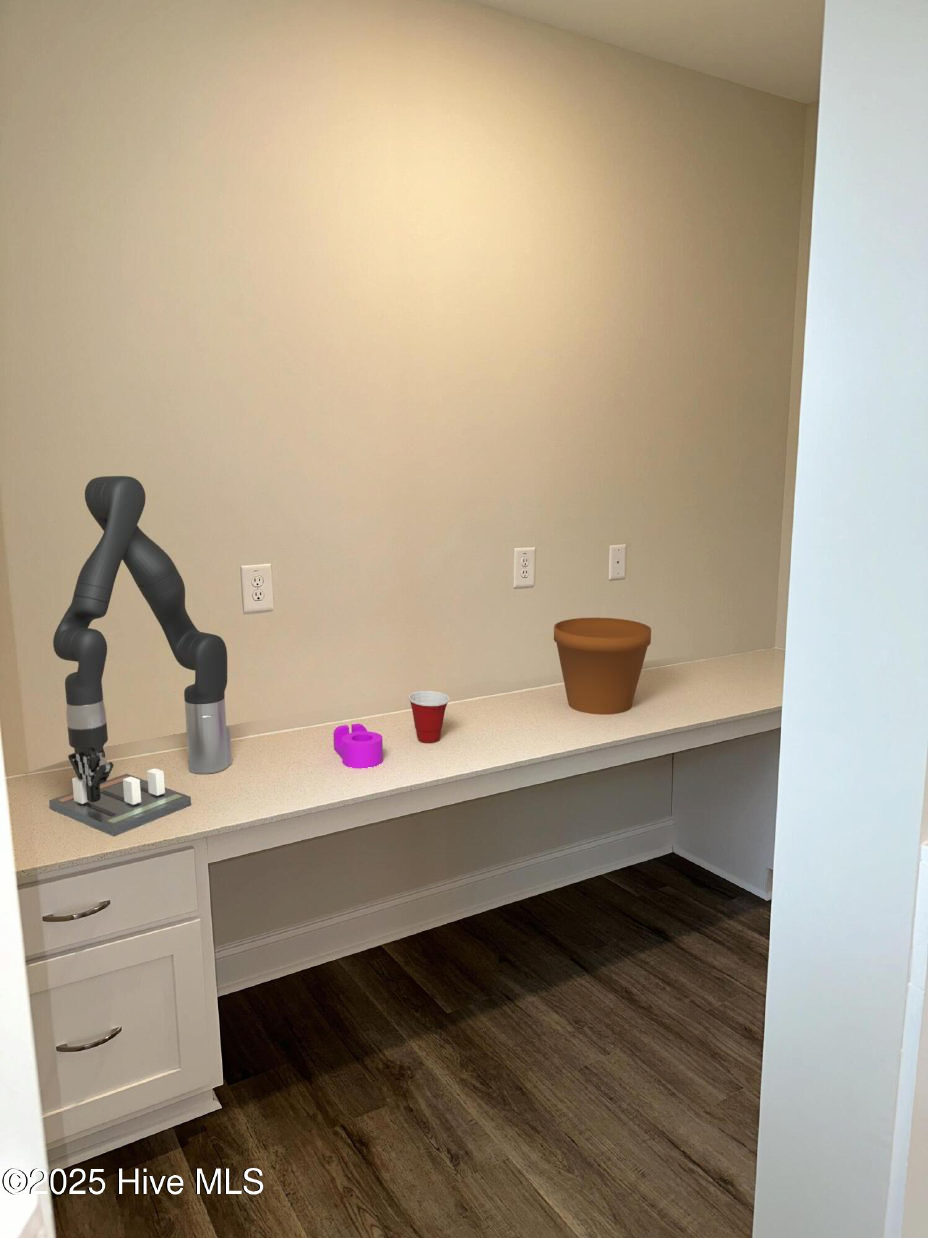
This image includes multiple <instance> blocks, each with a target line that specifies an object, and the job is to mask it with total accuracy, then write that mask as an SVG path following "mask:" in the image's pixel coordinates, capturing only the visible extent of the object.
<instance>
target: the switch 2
mask: <svg viewBox="0 0 928 1238" xmlns="http://www.w3.org/2000/svg"><path fill="white" fill-rule="evenodd" d="M146 773H147V774H146V776H147V781H148V791H149V793H151V794H154V795H157V796H158V795H160V794H163V793H165V788H166V787H165V776H164V775H165V774H164V770H161V769H158V768H152V769H149V770H147V771H146Z"/></svg>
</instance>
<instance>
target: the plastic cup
mask: <svg viewBox="0 0 928 1238" xmlns="http://www.w3.org/2000/svg"><path fill="white" fill-rule="evenodd" d="M408 701H409V702H410V706H411V707H410V708H411V710H412V711H411V712H412V716H413V717H412V718H413V722H414V724H413V725H414V728H415V733H416V738H417V740H418V741H419V743H424V744H434V743H437V742H439V741H440V738H441V734H442V728H443V724H444V723H443V722H444V719H445V713H446V708H447V705H448V703H449V702H450V696H449V695H448V694H446V693H444V692H439V691H437V690H436V691H435V690H418V691H413V692H411V693H410V694H409V695H408Z"/></svg>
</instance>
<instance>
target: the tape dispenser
mask: <svg viewBox="0 0 928 1238" xmlns="http://www.w3.org/2000/svg"><path fill="white" fill-rule="evenodd" d="M332 733H333V750H334V751H335V752H336V754H338V756H339V757H340V759H341V760H342V761H341V762H342V764H343V766H345V767H348V768H350V767H352V768H351V769H357V770H358V769H359V770H360V769H361V770H362V768H365V769H369V768H368V767H372V768H375V767H378V766H380V765H382V763H383V761H384V754H383V751H384V750H383V748H384V747H383V735H381V734H380V733H378V732H375V731H368V729H367V728H366V727H365V725H363V724H362V723H352V724H351V732H350V727H349V725H347V724H344V725H343V724H342V725H338V726H337V727H336V728H334V730H333V732H332ZM379 764H380V765H379ZM377 765H378V766H377ZM374 766H375V767H374Z"/></svg>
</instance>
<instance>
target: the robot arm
mask: <svg viewBox="0 0 928 1238" xmlns="http://www.w3.org/2000/svg"><path fill="white" fill-rule="evenodd" d="M146 498H147V497H146V491H145V489H144V486H143V484H142V483H141V481H139V480H138V479H137V478H135V477H133V476H128V475H108V476H97V477H95V478H92V479H90V480H89V481H88V483H87V485H86V486H85V489H84V501H85V504H86V506H87V508H88V511H89V513H90V515H91V516H92V517H93V519H94V521H96V523H97V524H98V525H99V527H100V528H101V529H102V531H103V533H102V536H101V538H100V540H99V541H98V543H97V544H96V546H95V548H94V549H93V550H92V552H91V553H90V555H89V557H88V558H87V559H86V560H85V562H84V564H83V565H82V568H81V569H80V572H79V575H78V576H77V580H76V584H75V588H74V591H73V595H72V600H71V603H70V605H69V607H68V608H67V610H66V612H65V613H64V615H63V617H62V618H61V620H60V622H59V624H58V626H57V628H56V630H55V632H54V635H53V639H52V642H53V643H52V645H53V650H54V653H55V654H56V656H57V657H58V658H59V659H61V660H64V661H70V662H76V663H78V665H77V670H76V672H72V673H70V674H68V675H67V676H66V677H65V679H64V689H65V701H66V711H65V713H66V723H67V724H66V725H67V733H68V734H67V735H68V744H69V746H70V747H71V748H73V749H74V750H73V751H74V752H73V753H70V754H67V755H68V757H67V758H68V760H69V762H70V764H71V766H72V768H73V770H74V772H75V775H76V777H78V779H79V780H83V783H84V784H85V785H86V792H87V800H88V801H90V802H96V801H99V800H100V798H101V794H100V783H103V782H106V781H107V780H108V779H109V777H110V774H111V772H112V770H113V768H114V763H113V762H111V761H110V762H108V761H107V760H106V752H105V749H104V746H105V744H106V743H108V741H109V736H108V734H109V733H108V723H107V722H108V721H107V712H106V706H105V705H106V704H105V702H104V693H103V683H102V679H103V675H104V670H105V666H106V661H107V657H108V656H107V655H108V644H107V640H106V638H105V635H104V634H103V633H102V632H101V631H99V630H97V629H95V628H92V627H91V628H90V625H91V623H92V622H93V621H94V620H96V619H103V618H104V617H105V616H106V615H107V613H108V610H109V605H110V602H111V597H112V594H113V589H114V586H115V582H116V578H117V575H118V571H119V570H120V569H119V568H120V566H121V565H122V564H121V563H122V561H123V563H124V564H125V566H126V568H127V570H128V571H129V573H130V575H131V577H132V578H133V579H132V580H133V581H134V583H135V584H136V586H137V587H138V590H139V591H140V593H141V595H142V596H143V598H144V599H145V601H146V602H147V605H148V606H149V607H150V610H151V611H152V613H153V615H154V616H155V618H156V620H157V622H158V623H159V625H160V627H161V629H162V631H163V633H164V635H165V638H166V641H167V643H168V645H169V647H170V649H171V652H172V654H173V656H174V658H175V659H176V661H177V662H178V664H179V665H180V666H181V667H183V668H185V669H187V670H189V671H194V678H195V679H194V683H193V684H190V685H188V686H186V687H185V688H184V690H183V691H184V693H183V698H184V709H185V726H186V742H187V743H186V744H187V759H188V770H189V772H191V773H193V774H201V775H203V774H205V775H207V774H208V775H209V774H215V773H218V772H221V771H224V770H226V769H227V768H228V767H229V766H231V765H232V764H233V763H232V760H233V759H232V746H231V730H230V729H231V728H230V727H229V726H228V725H227V714H226V699H225V694H226V693H225V692H226V689H227V685H228V650H227V646H226V643H225V641H224V638H222V637H221V636H219V635H217V634H213V633H209V632H204V631H203V632H202V631H200V630H199V629H198V628H197V627H196V625H194V622H193V621H192V619H191V618H190V616H189V614H188V612H187V608H186V587H185V583H184V580H183V578H182V576H181V574H180V571H179V570H178V568H177V567H176V565H175V563H174V561H173V560H172V558H171V557H170V556H169V555H168V554H167V552H166V551H165V550H164V549H162V548H161V546H159V544H157V543H156V542H155V541H153V540H152V538H150V537H149V536H148V535H146V533H144V532H143V531H142V530H141V528H140V527H139V525H138V524H139V521H140V519H141V517H142V514H143V512H144V509H145V505H146Z"/></svg>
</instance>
